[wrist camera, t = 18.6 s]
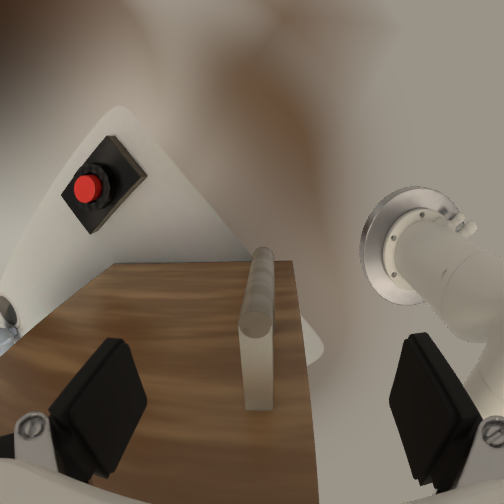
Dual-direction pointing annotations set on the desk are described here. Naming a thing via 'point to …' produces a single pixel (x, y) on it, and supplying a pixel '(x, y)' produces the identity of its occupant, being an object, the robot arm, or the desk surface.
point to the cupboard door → (188, 378)
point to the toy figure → (6, 339)
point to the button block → (105, 183)
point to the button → (87, 188)
